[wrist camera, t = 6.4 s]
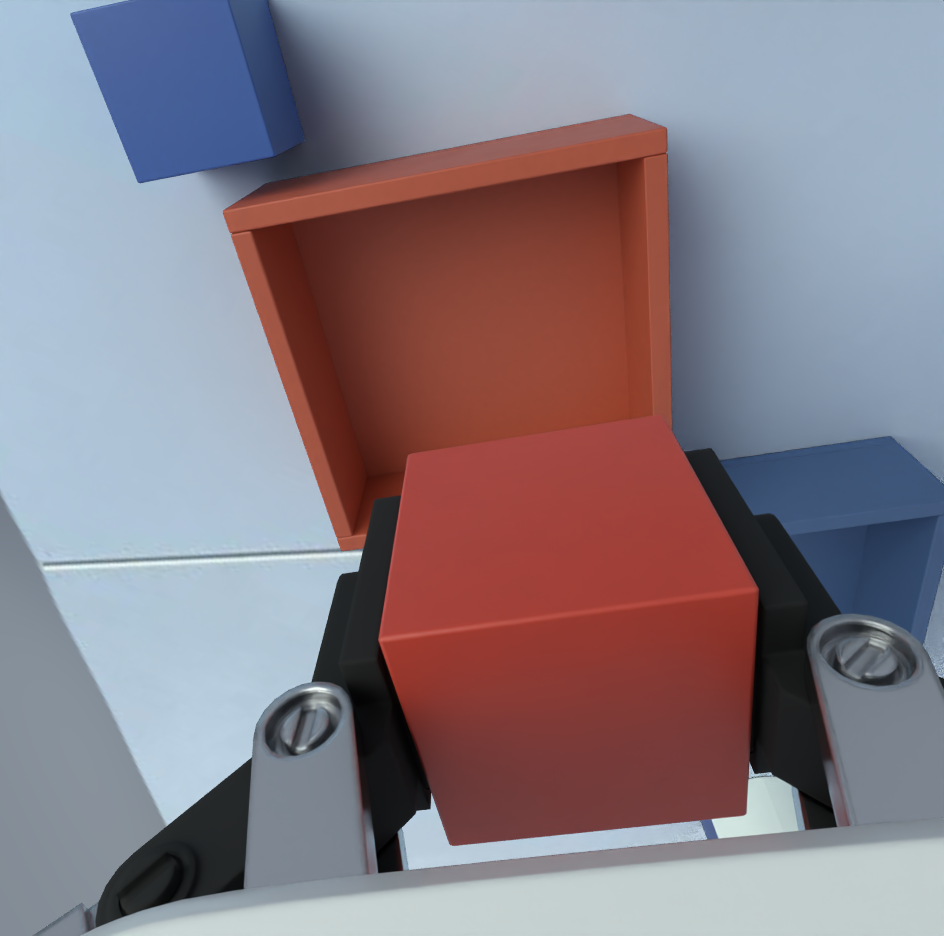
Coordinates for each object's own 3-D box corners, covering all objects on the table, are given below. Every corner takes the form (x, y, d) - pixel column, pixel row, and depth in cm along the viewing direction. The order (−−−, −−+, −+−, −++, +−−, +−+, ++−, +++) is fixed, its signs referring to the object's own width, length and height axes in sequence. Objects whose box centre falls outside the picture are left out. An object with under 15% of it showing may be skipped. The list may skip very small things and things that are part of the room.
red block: (406, 452, 12) (376, 639, 8) (663, 411, 11) (761, 588, 7) (455, 634, 14) (449, 848, 10) (670, 606, 13) (748, 817, 10)
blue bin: (594, 478, 31) (614, 546, 27) (891, 435, 30) (961, 499, 26) (611, 672, 38) (630, 750, 34) (853, 643, 37) (904, 721, 33)
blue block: (136, 20, 22) (68, 13, 18) (265, -8, 22) (222, -21, 18) (188, 163, 24) (137, 183, 21) (305, 140, 24) (275, 157, 20)
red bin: (264, 183, 25) (220, 210, 20) (631, 113, 24) (667, 126, 19) (358, 483, 32) (340, 552, 27) (644, 441, 30) (673, 505, 26)
